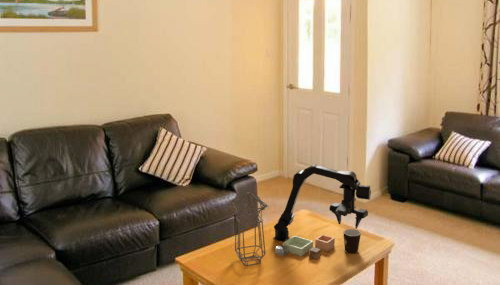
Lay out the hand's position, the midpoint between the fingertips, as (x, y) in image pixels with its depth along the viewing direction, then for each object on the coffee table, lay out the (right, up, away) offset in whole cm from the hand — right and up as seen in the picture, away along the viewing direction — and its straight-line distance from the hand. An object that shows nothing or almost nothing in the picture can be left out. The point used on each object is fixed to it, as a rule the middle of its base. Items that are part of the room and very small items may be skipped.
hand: (347, 226), depth 254 cm
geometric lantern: (-50, -15, -8) cm, 53 cm away
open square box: (-11, -12, +5) cm, 17 cm away
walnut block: (-17, -14, -5) cm, 23 cm away
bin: (-25, -12, +3) cm, 28 cm away
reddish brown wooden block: (-34, -14, -1) cm, 36 cm away
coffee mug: (+2, -12, +3) cm, 13 cm away
